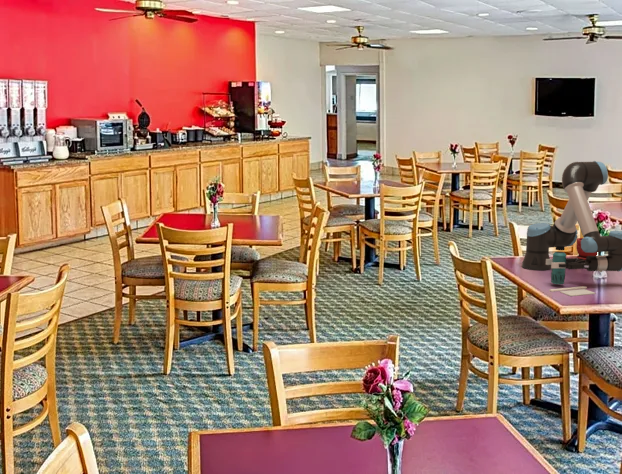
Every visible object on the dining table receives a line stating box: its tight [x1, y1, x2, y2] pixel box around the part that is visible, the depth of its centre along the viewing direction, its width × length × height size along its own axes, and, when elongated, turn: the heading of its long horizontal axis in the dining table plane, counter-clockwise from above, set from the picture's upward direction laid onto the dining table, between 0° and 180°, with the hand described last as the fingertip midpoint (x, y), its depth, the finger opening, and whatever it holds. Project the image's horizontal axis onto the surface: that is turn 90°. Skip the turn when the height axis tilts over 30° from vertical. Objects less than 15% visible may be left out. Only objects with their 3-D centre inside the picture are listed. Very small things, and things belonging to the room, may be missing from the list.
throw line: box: [548, 285, 588, 293], centre depth 377 cm, size 2×20×1 cm, turn 110°
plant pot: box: [576, 237, 597, 260], centre depth 443 cm, size 13×13×12 cm
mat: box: [559, 288, 597, 297], centre depth 371 cm, size 8×14×1 cm, turn 110°
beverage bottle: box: [550, 245, 567, 285], centre depth 383 cm, size 6×7×20 cm
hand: (548, 263), depth 383 cm, fingers open, 7 cm apart
